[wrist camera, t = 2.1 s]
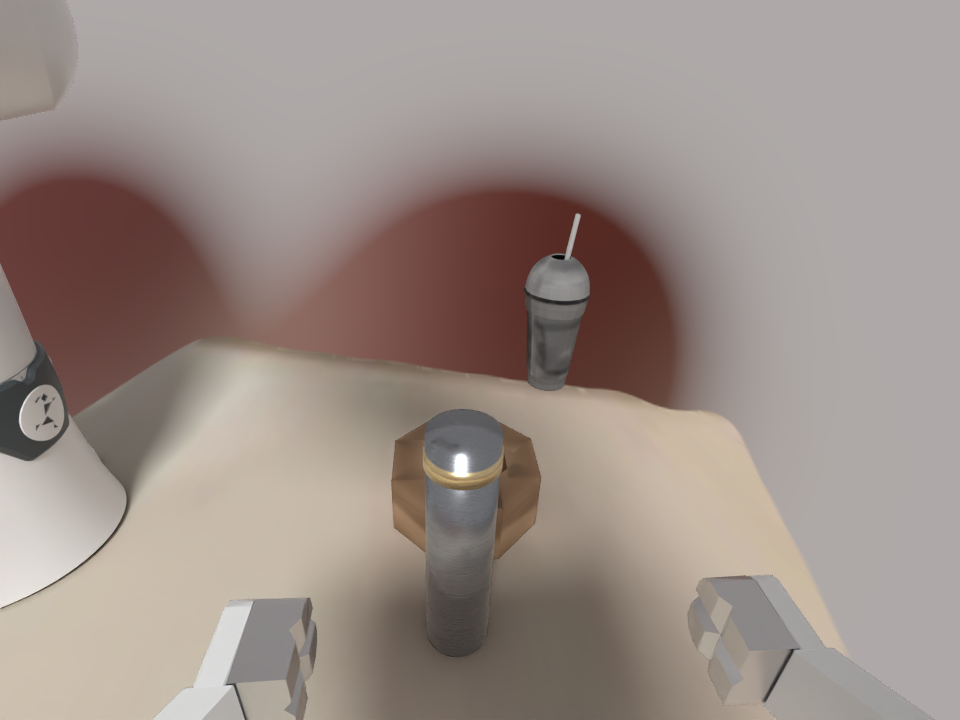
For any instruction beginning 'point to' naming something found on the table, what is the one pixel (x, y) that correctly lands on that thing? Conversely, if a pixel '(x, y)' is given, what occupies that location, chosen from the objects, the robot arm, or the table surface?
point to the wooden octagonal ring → (513, 496)
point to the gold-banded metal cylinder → (460, 526)
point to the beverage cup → (554, 315)
